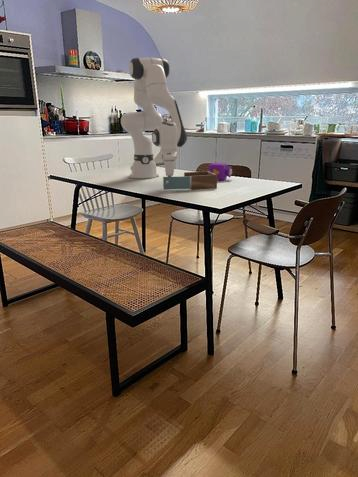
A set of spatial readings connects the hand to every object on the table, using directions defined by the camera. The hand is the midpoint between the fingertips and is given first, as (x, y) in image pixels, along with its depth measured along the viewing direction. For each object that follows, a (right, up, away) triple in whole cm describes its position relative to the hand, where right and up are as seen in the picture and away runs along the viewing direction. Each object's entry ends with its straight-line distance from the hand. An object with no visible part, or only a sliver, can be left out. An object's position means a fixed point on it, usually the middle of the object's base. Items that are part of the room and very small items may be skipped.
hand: (169, 181), depth 195 cm
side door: (+4, -4, -1) cm, 6 cm away
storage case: (+16, -1, +9) cm, 19 cm away
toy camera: (+30, +6, +30) cm, 43 cm away
